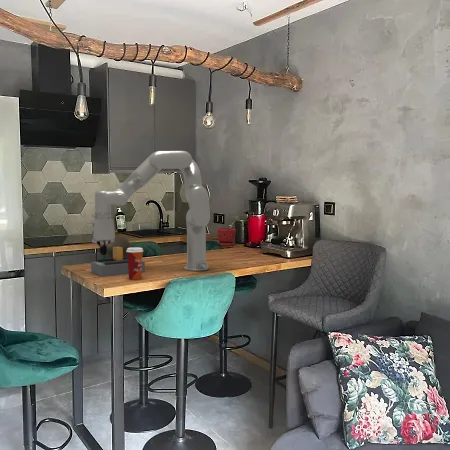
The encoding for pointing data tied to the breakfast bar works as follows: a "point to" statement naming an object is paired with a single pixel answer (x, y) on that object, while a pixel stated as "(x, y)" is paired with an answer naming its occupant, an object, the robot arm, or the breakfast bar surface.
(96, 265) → the grey open box
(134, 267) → the paper cup
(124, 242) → the cantaloupe
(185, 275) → the breakfast bar surface
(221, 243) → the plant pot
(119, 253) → the lever
